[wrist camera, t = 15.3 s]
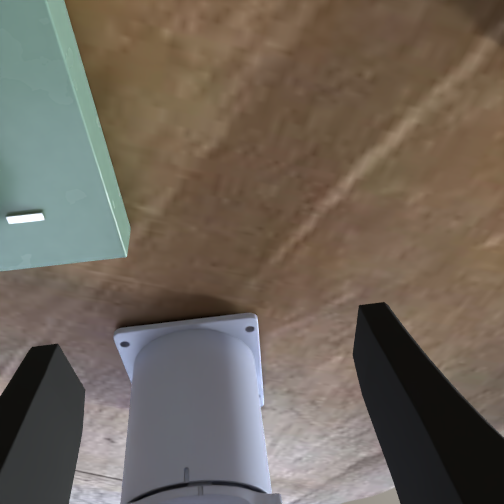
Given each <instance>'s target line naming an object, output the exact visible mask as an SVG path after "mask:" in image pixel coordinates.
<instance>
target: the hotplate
mask: <svg viewBox="0 0 504 504" xmlns="http://www.w3.org/2000/svg"><path fill="white" fill-rule="evenodd" d="M130 230H131V228H130V224H129V221H128V218H127V214H126V211H125V207H124V204H123V200H122V197H121V194H120V190H119V187H118V183H117V180H116V176H115V173H114V170H113V166H112V163H111V159H110V156H109V152H108V149H107V146H106V142H105V139H104V135H103V132H102V128H101V125H100V122H99V118H98V115H97V111H96V108H95V105H94V101H93V98H92V94H91V91H90V87H89V84H88V81H87V77H86V74H85V70H84V67H83V63H82V60H81V57H80V53H79V50H78V46H77V43H76V39H75V36H74V33H73V29H72V26H71V22H70V19H69V16H68V12H67V9H66V5H65V2H64V0H0V271H7V270H16V269H25V268H34V267H43V266H51V265H60V264H69V263H78V262H87V261H96V260H104V259H113V258H122V257H127V252H128V245H129V238H130Z"/></svg>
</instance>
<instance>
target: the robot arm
mask: <svg viewBox="0 0 504 504" xmlns="http://www.w3.org/2000/svg"><path fill="white" fill-rule="evenodd" d="M248 326H250V327H248ZM113 338H114V341H115V344H116V346H117V349H118V351H119V354H120V356H121V359H122V361H123V364H124V366H125V369H126V371H127V374H128V376H129V379H130V381H131V383H132V388H131V398H130V409H129V419H128V430H127V440H126V451H125V461H124V472H123V482H122V493H121V503H120V504H282V498H281V494H272V489H271V482H270V474H269V467H268V459H267V452H266V444H265V437H264V429H263V422H262V414H261V407H262V406H263V405H264V395H263V382H262V368H261V355H260V342H259V329H258V318H257V315H255V314H254V313H241V314H233V315H224V316H216V317H208V318H199V319H191V320H183V321H174V322H166V323H158V324H149V325H141V326H132V327H124V328H119V329H117V330H115V332H114V336H113ZM125 341H126V342H125ZM353 359H354V363H355V367H356V372H357V376H358V380H359V384H360V388H361V392H362V396H363V398H364V401H365V404H366V407H367V410H368V412H369V415H370V418H371V421H372V424H373V426H374V429H375V432H376V435H377V437H378V440H379V443H380V446H381V448H382V451H383V454H384V457H385V459H386V462H387V465H388V468H389V470H390V473H391V476H392V479H393V482H394V485H395V488H396V491H397V494H398V497H399V500H400V503H401V504H504V437H503V436H502V435H501V434H499V432H498V431H496V430H495V429H494V428H493V427H492V426H491V425H490V424H489V423H488V422H487V421H486V420H485V419H484V418H483V417H482V416H481V415H480V414H479V413H478V412H477V411H476V409H475V408H474V407H473V406H472V405H471V404H470V403H469V402H468V401H467V400H466V399H465V398H464V397H463V396H462V395H461V394H460V393H459V392H458V390H457V389H456V388H455V387H454V386H453V385H452V384H451V383H450V382H449V380H448V379H447V378H446V377H445V376H444V375H443V374H442V372H441V371H440V370H439V369H438V368H437V367H436V366H435V364H434V363H433V362H432V361H431V360H430V359H429V357H428V356H427V355H426V354H425V353H424V351H423V350H422V349H421V348H420V346H419V345H418V344H417V343H416V341H415V340H414V339H413V338H412V336H411V335H410V334H409V333H408V331H407V330H406V329H405V327H404V326H403V325H402V323H401V322H400V321H399V319H398V318H397V317H396V315H395V314H394V313H393V311H392V310H391V309H390V307H389V306H388V305H387V304H386V303H385V302H382V303H374V304H366V305H359V309H358V317H357V325H356V333H355V340H354V348H353ZM84 401H85V389H84V387H83V385H82V384H81V382H80V380H79V379H78V377H77V375H76V373H75V372H74V370H73V368H72V367H71V365H70V363H69V362H68V360H67V358H66V357H65V355H64V353H63V351H62V350H61V348H60V346H59V345H58V344H52V345H44V346H36V347H32V348H31V349H30V350H29V352H28V353H27V355H26V356H25V358H24V360H23V361H22V363H21V364H20V366H19V368H18V369H17V371H16V372H15V374H14V376H13V377H12V379H11V380H10V382H9V384H8V385H7V387H6V388H5V390H4V391H3V393H2V395H1V396H0V504H69V499H70V494H71V489H72V484H73V479H74V474H75V469H76V463H77V458H78V453H79V447H80V442H81V436H82V430H83V417H84Z"/></svg>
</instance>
